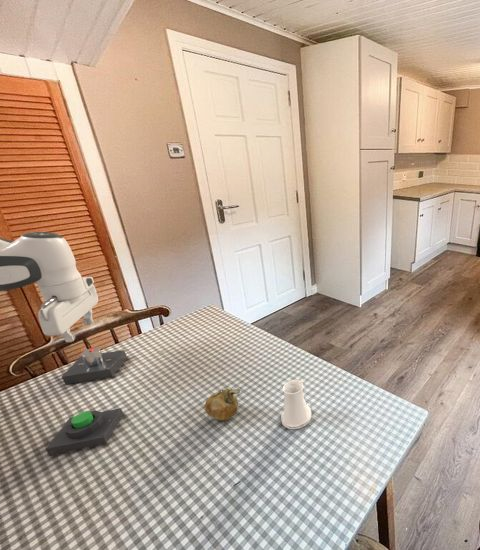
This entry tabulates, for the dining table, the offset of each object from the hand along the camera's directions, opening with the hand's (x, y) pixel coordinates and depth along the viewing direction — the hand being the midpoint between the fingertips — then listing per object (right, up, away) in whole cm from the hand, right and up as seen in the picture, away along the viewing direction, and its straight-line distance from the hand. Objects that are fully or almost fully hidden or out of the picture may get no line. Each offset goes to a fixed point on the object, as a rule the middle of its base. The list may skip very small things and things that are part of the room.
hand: (80, 331), depth 89 cm
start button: (+17, -18, -17) cm, 31 cm away
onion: (+48, -20, -11) cm, 53 cm away
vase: (+67, -20, -12) cm, 71 cm away
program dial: (0, -10, +5) cm, 11 cm away
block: (+17, -22, -16) cm, 32 cm away
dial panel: (0, -13, +6) cm, 14 cm away
